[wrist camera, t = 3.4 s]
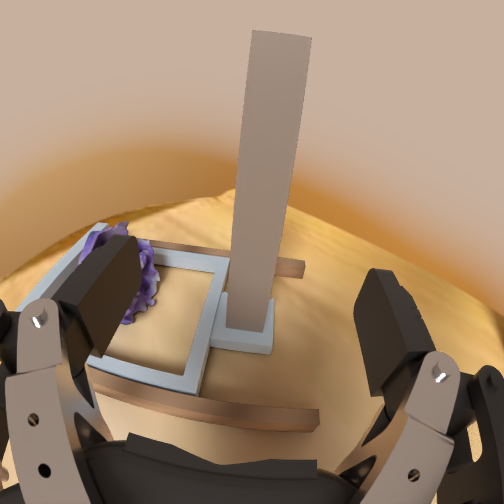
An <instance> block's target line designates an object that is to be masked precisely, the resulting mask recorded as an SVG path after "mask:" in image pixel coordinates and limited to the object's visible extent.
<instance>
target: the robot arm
mask: <svg viewBox="0 0 504 504" xmlns="http://www.w3.org/2000/svg"><path fill="white" fill-rule="evenodd" d="M141 283H142V268H141V262H140V255H139V248H138V241H137V239H136V237H135V236H129V235H121V234H114V235H113V236H112V237H111V238H110V239H109V240H108V241H107V242H106V243H105V244H104V245H103V246H100V247H98V248H97V249H95V250H93V251H92V252H90V253H89V254H88V255H87V256H86V257H85V258H84V259H83V261H82V262H81V264H79V265H78V266H77V267H76V269H75V271H74V272H72V273H71V274H70V275H69V277H68V278H67V279H66V280H65V281H64V283H63V284H62V285H61V286H60V287H59V289H58V290H57V291H56V292H55V294H54V295H53V296H52V297H51V299H48V298H41V299H37V300H34V301H32V302H31V303H29V304H28V305H27V306H26V307H25V308H24V309H23V310H22V312H14V311H7V309H6V307H5V305H4V303H3V301H2V300H1V299H0V361H1V362H2V363H1V365H0V504H431V502H432V500H433V498H434V496H435V494H436V492H437V504H504V378H503V376H502V375H501V373H500V372H499V371H498V370H497V369H496V368H494V367H493V366H490V365H485V366H483V367H482V368H481V369H480V370H479V371H478V372H477V373H476V374H475V375H471V374H467V373H463V372H460V371H459V368H458V366H457V364H456V363H455V361H454V360H453V359H452V358H451V357H450V356H448V355H447V354H445V353H443V352H439V351H436V348H435V346H434V343H433V341H432V339H431V336H430V334H429V332H428V329H427V327H426V325H425V323H424V321H423V319H421V317H422V316H421V314H420V312H419V310H417V306H416V304H415V302H414V300H413V298H412V296H411V295H410V294H409V293H408V292H407V291H406V290H405V289H404V288H403V286H400V285H399V283H398V281H397V279H396V277H395V275H394V273H393V272H392V271H390V270H383V269H375V268H372V269H370V270H369V272H368V274H367V276H366V278H365V281H364V283H363V286H362V288H361V290H360V293H359V295H358V297H357V299H356V302H355V305H354V313H353V315H354V321H355V325H356V329H357V334H358V338H359V342H360V346H361V351H362V355H363V360H364V364H365V369H366V374H367V379H368V384H369V390H370V395H371V397H376V396H384V401H385V402H384V403H383V404H382V405H381V406H380V408H379V410H378V412H377V413H376V415H375V417H374V419H373V420H372V422H371V424H370V425H369V427H368V429H367V430H366V432H365V434H364V435H363V437H362V438H361V440H360V441H359V443H358V444H357V446H356V447H355V449H354V450H353V451H352V452H351V454H350V455H349V456H347V457H346V458H345V459H344V461H343V462H342V463H341V464H340V465H339V466H338V467H337V469H336V470H335V471H334V472H333V473H331V472H328V471H325V470H322V469H318V468H317V460H278V459H269V460H263V461H256V462H248V463H240V464H230V465H218V464H215V463H212V462H210V461H207V460H205V459H202V458H200V457H198V456H195V455H193V454H191V453H189V452H187V451H184V450H182V449H180V448H178V447H176V446H174V445H172V444H168V443H164V442H160V441H156V440H153V439H149V438H146V437H142V436H139V435H136V434H133V433H130V432H129V434H128V437H127V440H118V441H114V439H113V437H112V435H111V432H110V430H109V428H108V426H107V424H106V423H105V421H104V419H103V417H102V415H101V413H100V410H99V406H98V403H97V399H96V396H95V392H94V388H93V384H92V380H91V376H90V372H89V367H88V364H87V362H86V361H87V359H88V357H89V355H92V356H94V357H97V358H100V359H102V357H103V355H104V353H105V351H106V349H107V347H108V345H109V343H110V342H111V340H112V338H113V336H114V334H115V332H116V330H117V328H118V326H119V325H120V323H121V321H122V319H123V317H124V316H125V314H126V312H127V310H128V308H129V307H130V305H131V303H132V301H133V300H134V298H135V296H136V294H137V293H138V291H139V289H140V286H141ZM475 421H477V424H478V428H479V433H480V437H481V442H482V454H481V457H480V458H479V459H478V460H477V461H476V462H475V463H474V462H473V459H472V453H471V447H470V442H469V436H468V432H467V427H469V426H470V425H471V424H473V423H474V422H475ZM9 437H10V444H11V449H12V455H13V460H14V464H15V469H16V473H17V477H18V481H19V483H17V484H15V485H13V486H11V487H8V488H6V489H3V485H2V481H3V482H6V481H8V479H9V473H8V471H7V469H6V468H5V467H4V466H2V464H1V463H2V459H3V456H4V453H5V449H6V446H7V443H8V440H9Z"/></svg>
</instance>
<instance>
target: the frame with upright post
mask: <svg viewBox="0 0 504 504" xmlns="http://www.w3.org/2000/svg"><path fill="white" fill-rule="evenodd" d="M311 40H312V38H310V37H305V36H298V35H292V34H285V33H277V32H267V31H256V30H253V31H252V38H251V47H250V55H249V64H248V72H247V80H246V89H245V98H244V107H243V117H242V127H241V137H240V147H239V157H238V168H237V179H236V190H235V202H234V214H233V226H232V239H231V252H230V258H226V257H219V256H212V255H204V254H197V253H190V252H183V251H176V250H169V249H162V248H155V247H152V248H153V250H154V254H155V261H154V264H159V265H165V266H171V267H178V268H184V269H191V270H198V271H205V272H211V273H214V276H213V279H212V282H211V285H210V288H209V292H208V295H207V298H206V301H205V304H204V307H203V311H202V314H201V317H200V320H199V324H198V327H197V330H196V334H195V337H194V340H193V344H192V347H191V350H190V354H189V357H188V361H187V364H186V368H185V371H184V375H183V376H180V375H176V374H171V373H167V372H163V371H158V370H154V369H150V368H146V367H143V366H139V365H135V364H132V363H128V362H125V361H121V360H118V359H115V358H112V357H108V356H105V355H103V357H102V359H100V358H97V357H94V356H92V355H89V357H88V359H87V361H86V362H87V364H88V366H89V367H91V368H94V369H97V370H99V371H102V372H105V373H108V374H111V375H114V376H117V377H120V378H124V379H127V380H130V381H133V382H137V383H140V384H144V385H148V386H151V387H155V388H159V389H163V390H167V391H172V392H176V393H181V394H185V395H190V396H195V397H198V395H199V391H200V387H201V382H202V378H203V374H204V369H205V365H206V361H207V357H208V353H209V349H210V347H216V348H222V349H229V350H236V351H243V352H250V353H259V354H267V355H270V354H271V350H272V347H273V323H274V299H273V298H270V294H271V289H272V284H273V279H274V274H275V268H276V263H277V258H278V252H279V247H280V242H281V236H282V231H283V225H284V219H285V214H286V208H287V202H288V196H289V191H290V184H291V179H292V173H293V166H294V160H295V153H296V148H297V141H298V135H299V128H300V121H301V114H302V107H303V101H304V94H305V87H306V79H307V72H308V64H309V56H310V48H311ZM106 228H109V226H108V224H106V223H97V224H96V225H95V226H94V227H93V228H92V229H91V230H90V231H88V232H87V233H86V234H85V235H84V236H83V237H82V238H81V239H80V240H79V241H78V242H77V243H76V244H75V245H74V246H73V247H72V248H71V249H70V250H69V251H68V252H67V253H66V254H65V255H64V256H63V257H62V258H61V259H60V260H59V261H58V262H57V263H56V264H55V265H54V266H53V267H52V269H51V270H50V271H49V272H48V273H47V274H46V275H45V276H44V277H43V278H42V280H41V281H40V282H39V283H38V284H37V285H36V286H35V288H34V289H33V290H32V291H31V292H30V293H29V295H28V296H27V297H26V298H25V299H24V301H23V302H22V303H21V304H20V306H19V307H18V308H17V309H16V311H15V312H22V310H23V309H24V308H25V307H26V306H27V305H28V304H29V303H31V302H32V301H34V300H37V299H41V298H48V299H51V297H52V296H53V295H54V294H55V292H56V291H57V290H58V289H59V287H60V286H61V285H62V284H63V283H64V281H65V280H66V279H67V278H68V277H69V275H70V274H71V273H72V272H74V271H75V269H76V267H77V266H78V261H79V258H80V255H81V253H82V250H83V248H84V245H85V243H86V240H87V238H88V235H89V234H90V232H92V231H102V230H104V229H106ZM228 272H229V281H228V292H224V288H225V284H226V280H227V276H228Z"/></svg>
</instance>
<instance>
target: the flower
mask: <svg viewBox="0 0 504 504" xmlns="http://www.w3.org/2000/svg"><path fill="white" fill-rule="evenodd" d="M128 223H129V222H128V221H125V222H120V223H118V224H116V226H115V227H110V228H106V229H104V230H102V231H92V232H90V234H89V235H88V238H87V240H86V243H85V245H84V248H83V250H82V253H81V255H80V258H79V261H78V265H79V264H81V262H82V261H83V259H84V258H85V257H86V256H87V255H88V254H89V253H90V252H92V251H93V250H95V249H97V248H98V247H100V246H103V245H104V244H105V243H106V242H107V241H108V240H109V239H110V238H111V237H112V236H113V235H114V234H121V235H128V230H127V226H128ZM136 239H137V241H138V248H139V255H140V262H141V268H142V283H141V286H140V289H139V291H138V293H137V294H136V296H135V298H134V300H133V301H132V303H131V305H130V307H129V308H128V310H127V312H126V314H125V316H124V317H123V319H122V321H121V324H124V325H127V324H130V323H132V322H134V319H133V314H134V313H136V312H137V311H142V312H146V310H147V307H146V304H150V305H151V306H153V305H154V304H155V302H156V301H155V299H151V298H152V296H153V295H154V294H155V293H156V292H157V281H160V277H159V272H158V271H157V270H156V269H155V268H154V261H155V254H154V250H153V248H152V246H151V245H150V240H144V239H138V238H136Z"/></svg>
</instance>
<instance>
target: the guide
mask: <svg viewBox="0 0 504 504" xmlns="http://www.w3.org/2000/svg"><path fill="white" fill-rule="evenodd" d="M138 239H139V238H138ZM144 240H147V239H144ZM150 245H151V246H152V247H155V248H162V249H169V250H176V251H183V252H190V253H197V254H204V255H212V256H219V257H226V258H230V252H231V251H228V250H221V249H213V248H206V247H198V246H191V245H184V244H176V243H169V242H161V241H154V240H150ZM304 270H305V261H303V260H296V259H288V258H281V257H278V258H277V263H276V268H275V274H274V275H277V276H285V277H292V278H300V279H302V278H303V274H304ZM88 367H89V366H88ZM89 372H90V376H91V380H92V384H93V388H94V391H95V392H98V393H101V394H103V395H106V396H109V397H112V398H114V399H117V400H120V401H123V402H126V403H130V404H133V405H136V406H139V407H143V408H146V409H150V410H153V411H157V412H161V413H165V414H169V415H173V416H177V417H182V418H186V419H191V420H196V421H201V422H207V423H213V424H219V425H225V426H232V427H240V428H249V429H259V430H271V431H288V432H313V431H314V429H315V428H316V427H317V426H318V425H319V409H292V408H277V407H265V406H255V405H246V404H238V403H231V402H224V401H218V400H212V399H206V398H200V397H195V396H190V395H185V394H181V393H176V392H172V391H167V390H163V389H159V388H155V387H151V386H148V385H144V384H140V383H137V382H133V381H130V380H127V379H124V378H120V377H117V376H114V375H111V374H108V373H105V372H102V371H99V370H97V369H94V368H91V367H89Z"/></svg>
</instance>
